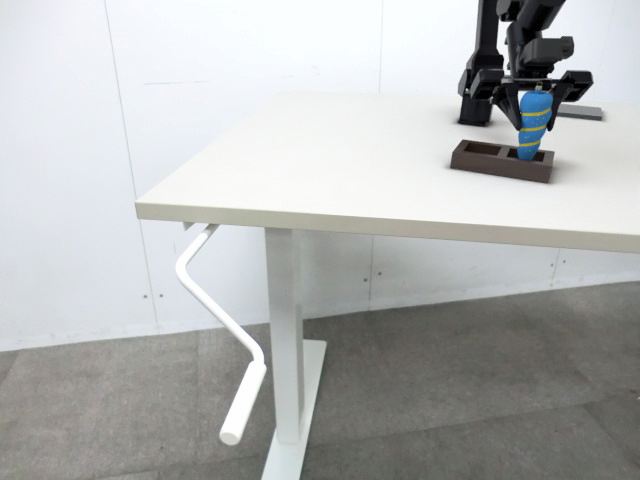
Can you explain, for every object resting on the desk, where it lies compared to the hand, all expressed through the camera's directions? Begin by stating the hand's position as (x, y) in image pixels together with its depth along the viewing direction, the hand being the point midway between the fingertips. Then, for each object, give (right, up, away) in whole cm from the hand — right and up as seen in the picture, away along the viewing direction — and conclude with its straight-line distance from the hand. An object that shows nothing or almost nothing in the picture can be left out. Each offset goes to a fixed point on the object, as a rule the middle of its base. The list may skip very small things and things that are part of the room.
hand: (534, 130), depth 80 cm
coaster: (+30, +14, +44) cm, 55 cm away
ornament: (0, -6, +5) cm, 8 cm away
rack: (-3, -5, +6) cm, 9 cm away
